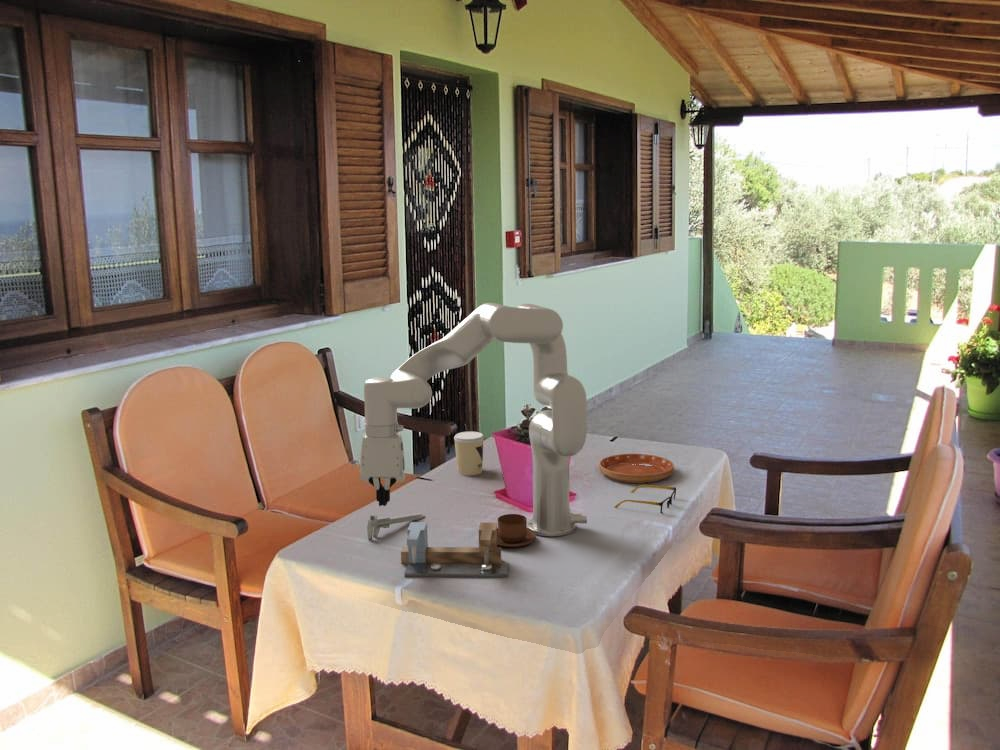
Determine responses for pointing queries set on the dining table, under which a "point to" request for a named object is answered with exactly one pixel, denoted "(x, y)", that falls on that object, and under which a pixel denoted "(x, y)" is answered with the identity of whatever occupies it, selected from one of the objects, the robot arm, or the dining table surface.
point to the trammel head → (417, 542)
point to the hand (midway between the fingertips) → (383, 504)
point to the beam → (465, 550)
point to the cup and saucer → (514, 531)
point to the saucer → (636, 467)
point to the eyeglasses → (654, 502)
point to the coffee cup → (469, 452)
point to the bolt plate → (456, 570)
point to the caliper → (387, 522)
